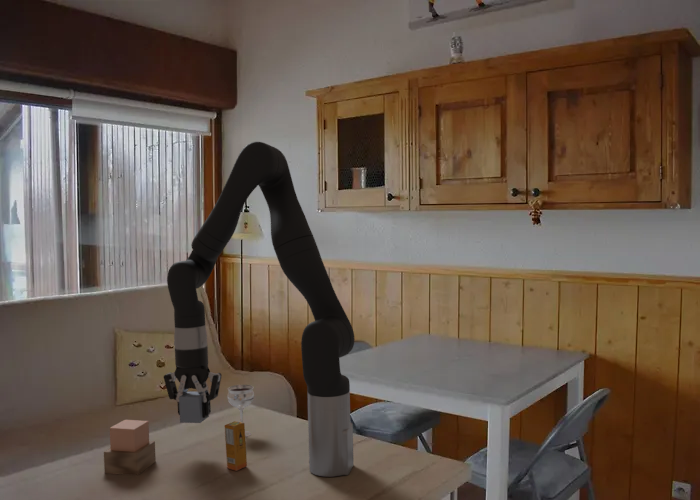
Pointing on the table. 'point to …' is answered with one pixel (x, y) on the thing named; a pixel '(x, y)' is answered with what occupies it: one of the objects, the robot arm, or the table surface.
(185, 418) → the slate block
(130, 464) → the base block
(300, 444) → the table surface
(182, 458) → the table surface
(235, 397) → the wineglass
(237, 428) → the supplement box
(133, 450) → the top block
